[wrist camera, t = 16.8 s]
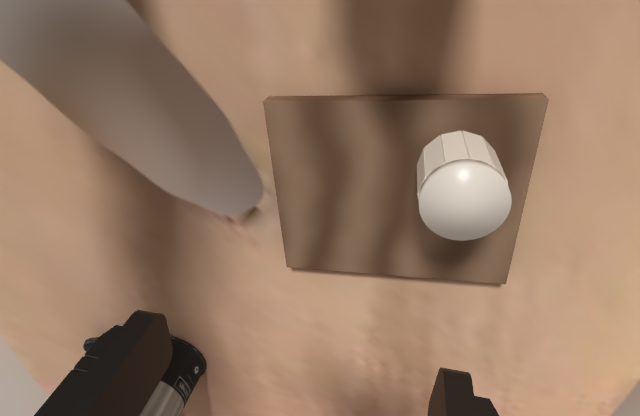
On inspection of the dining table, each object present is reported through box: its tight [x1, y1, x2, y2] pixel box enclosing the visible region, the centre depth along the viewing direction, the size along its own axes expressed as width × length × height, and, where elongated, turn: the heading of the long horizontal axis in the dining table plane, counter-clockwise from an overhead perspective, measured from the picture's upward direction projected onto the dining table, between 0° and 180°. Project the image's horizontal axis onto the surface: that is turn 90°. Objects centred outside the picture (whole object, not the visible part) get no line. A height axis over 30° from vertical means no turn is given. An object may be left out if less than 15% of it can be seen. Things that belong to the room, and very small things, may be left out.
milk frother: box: [83, 337, 206, 416], centre depth 53 cm, size 14×16×15 cm
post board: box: [263, 93, 549, 284], centre depth 34 cm, size 22×18×8 cm
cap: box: [417, 130, 512, 241], centre depth 30 cm, size 6×6×6 cm
